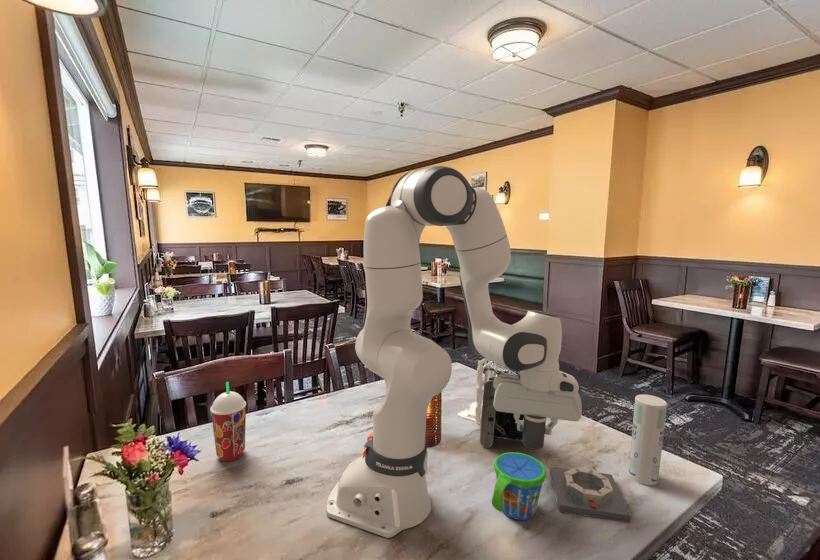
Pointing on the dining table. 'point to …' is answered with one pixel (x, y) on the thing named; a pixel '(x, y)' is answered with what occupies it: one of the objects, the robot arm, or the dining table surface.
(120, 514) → the dining table surface
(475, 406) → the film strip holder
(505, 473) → the snack cup
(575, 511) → the mount plate
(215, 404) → the smoothie
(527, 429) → the lens
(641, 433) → the spray can
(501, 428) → the vintage camera
